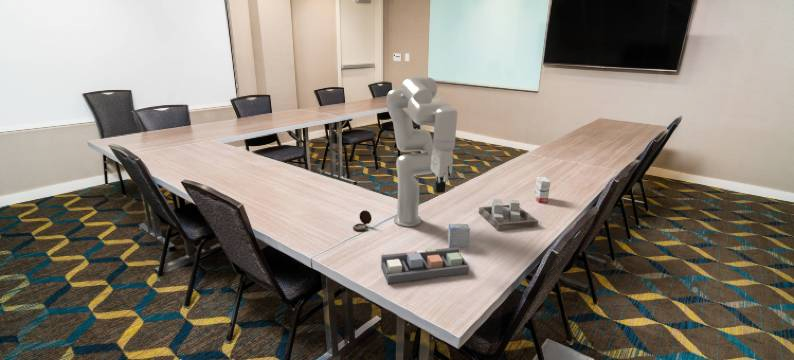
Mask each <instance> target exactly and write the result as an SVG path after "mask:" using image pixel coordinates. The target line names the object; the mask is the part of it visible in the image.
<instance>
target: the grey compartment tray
mask: <svg viewBox="0 0 794 360" xmlns="http://www.w3.org/2000/svg"><path fill="white" fill-rule="evenodd" d="M457 252H458V253H459V255H460V256H461V257H462V258H463V259H462V265H461V266H453V267H450V265H449V264H448V263H447V261H446V256H447V254H448V253H457ZM411 253H420V255H421V256H422V258H423V267H416V268H410V266H409V264H408V262H407V254H411ZM430 255H439V256H440V257H441V259H442V260H443V267H442V268H436V269H430V268H429V266H428V265H427V256H430ZM380 259H381V261H380V268H381V270H382V273H383V276H384V278H385V280H386V284H387V285H394V284H401V283H402V284H403V283H410V282H411V283H412V282H418V281H425V280H434V279H441V278H450V277H458V276H466V275H469V274H470V265H469V264H468V262H467V260H466V259H464V256H463V255H462V254H461V253H460V247H447V248H436V249H435V248H432V249H426V250H425V249H423V250H416V251H414V250H413V251H406V252H398V253H391V254H390V253H389V254H382V255H380ZM394 259H399V260H400V262H401V264H402V273H395V274H389V271H388V269H387V260H394Z"/></svg>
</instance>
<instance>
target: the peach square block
mask: <svg viewBox="0 0 794 360" xmlns="http://www.w3.org/2000/svg"><path fill="white" fill-rule="evenodd" d="M427 265H428V266H429V268H430V269H436V268H442V267H443V260H442V259H441V257H440V256H439V255H430V256H427Z"/></svg>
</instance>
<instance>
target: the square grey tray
mask: <svg viewBox="0 0 794 360" xmlns="http://www.w3.org/2000/svg"><path fill="white" fill-rule="evenodd" d="M509 205H510V204H505V205H504V204H503V207H507V208H509ZM491 210H492V205H491V206H490V205H489V206H479V207H478V214H479V215H480V216H481V217H482V218H484V220H485V221H486V222H488V224H489V225H491V226H492V227H493V228H494V230H496V231H497V232H500V231H501V232H502V231H511V230H521V229H523V230H524V229H531V228H538V225H539V220H537V218H535V217H533V216H532V215H531V214H530V213H528V212H527V211H526V210H524V208H522V207H520V206H519V213H520V218H522V219H523V220H519V221H515V222H511V221H507V222H505V221H504V222H503V223H500V222H498V221H497V220H496V219H495V218H494V217H493V216H492V215H491Z"/></svg>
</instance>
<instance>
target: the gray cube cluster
mask: <svg viewBox="0 0 794 360" xmlns="http://www.w3.org/2000/svg"><path fill="white" fill-rule="evenodd" d="M520 204H521V203H520V200H518V199H517V200H516V199H510V200H509V204H508V205H509V208H507V207H503V205H504V204H503V200H502V198H501V199H500V198H492V202H491V206H492V210H491V213H490V214H491V215H492V216H493V217H494V218H495V219H496V220H497V221H498V222H500V223H504V218H505V219H509V222H515V221H521V220H520V218H521V217H520V213H519V207H520Z"/></svg>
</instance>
